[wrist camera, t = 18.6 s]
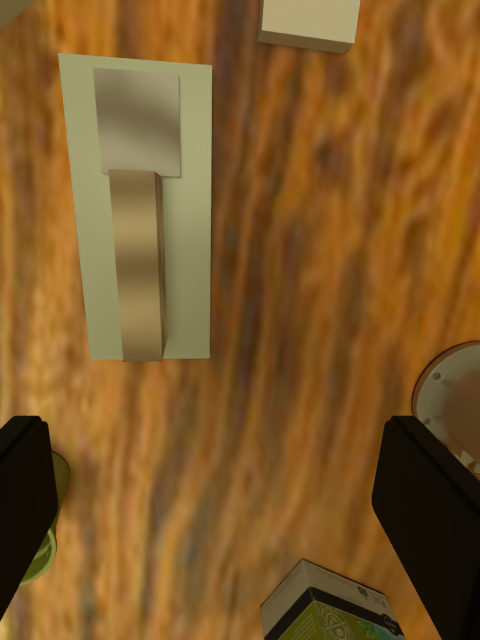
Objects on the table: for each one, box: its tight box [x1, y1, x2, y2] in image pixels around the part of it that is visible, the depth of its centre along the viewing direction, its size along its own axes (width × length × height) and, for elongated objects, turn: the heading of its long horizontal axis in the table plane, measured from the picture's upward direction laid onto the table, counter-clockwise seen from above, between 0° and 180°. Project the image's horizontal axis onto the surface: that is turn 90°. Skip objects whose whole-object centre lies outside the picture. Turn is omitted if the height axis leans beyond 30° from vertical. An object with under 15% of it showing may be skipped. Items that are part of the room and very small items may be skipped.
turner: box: [93, 67, 181, 362], centre depth 27 cm, size 21×6×5 cm, turn 178°
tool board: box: [58, 53, 212, 360], centre depth 30 cm, size 24×11×1 cm, turn 178°
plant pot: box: [19, 452, 69, 586], centre depth 32 cm, size 9×9×9 cm
